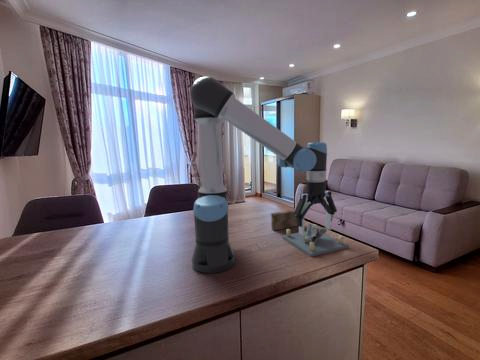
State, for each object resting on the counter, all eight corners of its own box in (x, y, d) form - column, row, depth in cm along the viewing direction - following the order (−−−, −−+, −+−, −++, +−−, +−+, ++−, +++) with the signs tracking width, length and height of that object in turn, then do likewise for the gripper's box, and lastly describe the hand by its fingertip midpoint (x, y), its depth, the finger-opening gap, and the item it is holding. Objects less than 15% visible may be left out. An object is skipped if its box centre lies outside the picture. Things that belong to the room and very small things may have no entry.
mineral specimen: (307, 250, 106) (328, 251, 98) (295, 240, 102) (316, 241, 95) (313, 230, 110) (333, 229, 102) (302, 220, 107) (321, 219, 99)
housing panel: (274, 231, 118) (274, 214, 116) (271, 229, 120) (271, 212, 119) (303, 226, 123) (303, 210, 122) (299, 224, 126) (299, 208, 125)
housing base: (310, 256, 91) (311, 245, 91) (282, 238, 110) (282, 229, 109) (348, 247, 98) (348, 237, 97) (315, 231, 116) (315, 223, 116)
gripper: (295, 184, 92) (295, 239, 95) (347, 179, 101) (345, 229, 105) (284, 182, 99) (284, 232, 102) (333, 177, 108) (332, 224, 112)
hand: (315, 231), depth 103 cm, fingers open, 13 cm apart
